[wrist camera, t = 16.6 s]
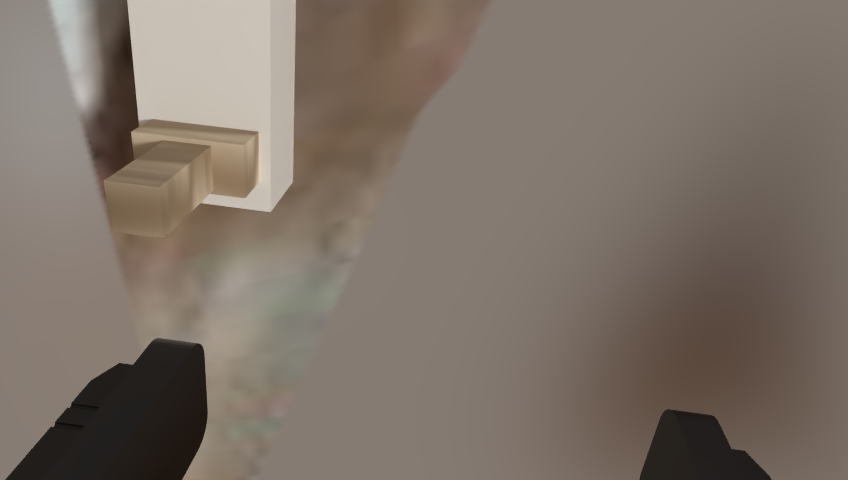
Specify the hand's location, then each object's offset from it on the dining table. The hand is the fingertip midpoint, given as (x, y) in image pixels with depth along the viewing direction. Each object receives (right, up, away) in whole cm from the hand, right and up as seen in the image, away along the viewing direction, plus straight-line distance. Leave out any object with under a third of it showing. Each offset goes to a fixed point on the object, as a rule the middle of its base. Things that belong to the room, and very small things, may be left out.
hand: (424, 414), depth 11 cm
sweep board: (-11, +16, +27) cm, 33 cm away
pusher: (-12, +8, +25) cm, 29 cm away
